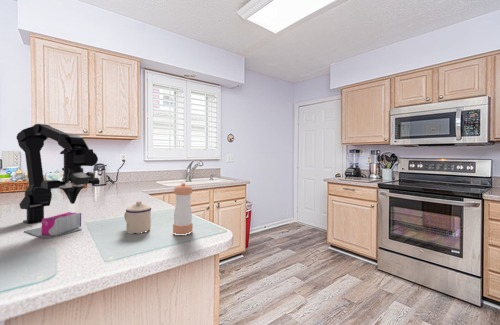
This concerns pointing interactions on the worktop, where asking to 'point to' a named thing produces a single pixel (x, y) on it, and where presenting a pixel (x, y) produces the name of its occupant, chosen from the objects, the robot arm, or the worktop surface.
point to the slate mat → (38, 233)
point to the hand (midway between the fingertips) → (72, 203)
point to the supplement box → (61, 223)
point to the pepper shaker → (182, 210)
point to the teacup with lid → (138, 218)
